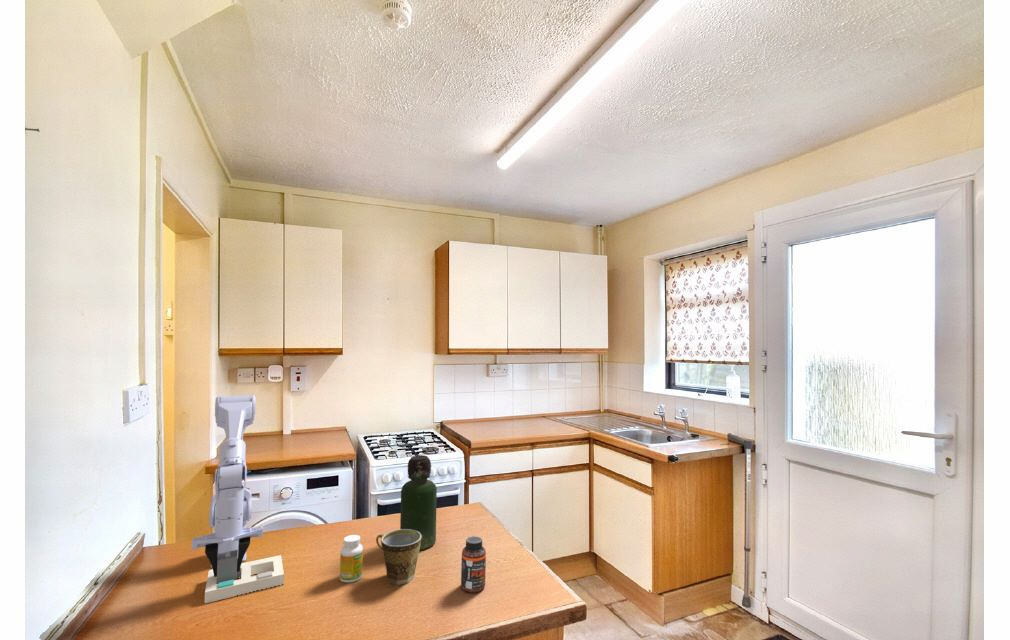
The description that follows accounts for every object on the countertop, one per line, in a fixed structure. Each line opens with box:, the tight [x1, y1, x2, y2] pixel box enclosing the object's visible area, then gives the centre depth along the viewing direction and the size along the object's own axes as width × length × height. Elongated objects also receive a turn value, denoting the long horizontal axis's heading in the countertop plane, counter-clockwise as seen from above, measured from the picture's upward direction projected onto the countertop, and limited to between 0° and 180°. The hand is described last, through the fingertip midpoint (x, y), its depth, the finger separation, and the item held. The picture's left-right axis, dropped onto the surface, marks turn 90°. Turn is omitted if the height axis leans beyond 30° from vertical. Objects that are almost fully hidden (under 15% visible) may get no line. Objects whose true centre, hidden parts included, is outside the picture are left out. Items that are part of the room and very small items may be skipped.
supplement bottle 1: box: [339, 534, 364, 583], centre depth 111 cm, size 5×5×10 cm
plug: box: [217, 550, 238, 584], centre depth 106 cm, size 4×4×6 cm
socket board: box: [204, 554, 285, 604], centre depth 108 cm, size 11×16×3 cm
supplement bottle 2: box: [460, 536, 487, 594], centre depth 107 cm, size 6×6×11 cm
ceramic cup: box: [375, 529, 421, 586], centre depth 112 cm, size 13×10×10 cm
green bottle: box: [399, 454, 438, 551], centre depth 131 cm, size 10×10×25 cm
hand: (227, 572), depth 106 cm, fingers closed on plug, 4 cm apart
